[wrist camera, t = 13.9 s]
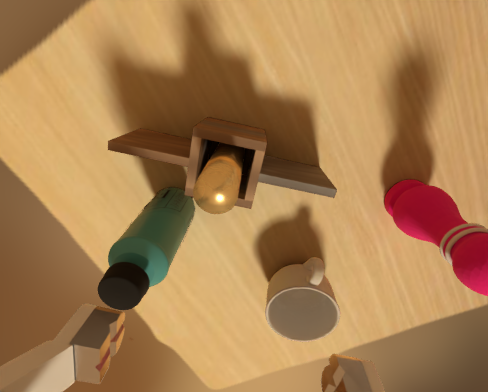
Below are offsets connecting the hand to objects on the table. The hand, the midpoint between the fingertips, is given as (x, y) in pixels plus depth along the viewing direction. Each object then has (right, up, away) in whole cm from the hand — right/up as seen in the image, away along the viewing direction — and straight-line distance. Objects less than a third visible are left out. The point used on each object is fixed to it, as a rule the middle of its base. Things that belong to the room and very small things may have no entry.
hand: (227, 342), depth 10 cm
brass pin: (-1, +12, +28) cm, 31 cm away
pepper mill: (+25, +5, +30) cm, 39 cm away
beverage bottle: (-10, +5, +32) cm, 34 cm away
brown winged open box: (-1, +12, +28) cm, 31 cm away
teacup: (+10, -8, +36) cm, 38 cm away
